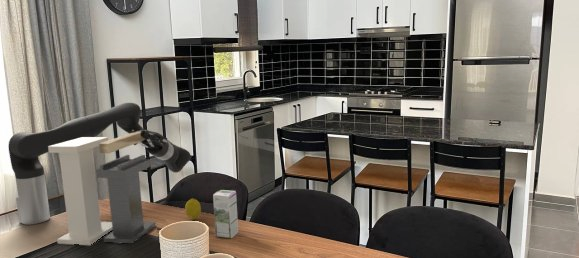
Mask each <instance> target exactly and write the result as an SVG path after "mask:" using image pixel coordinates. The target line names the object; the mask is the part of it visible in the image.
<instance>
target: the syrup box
mask: <svg viewBox="0 0 579 258" xmlns="http://www.w3.org/2000/svg"><path fill="white" fill-rule="evenodd" d="M236 191H237V190H225V189H220V190H218V191H216V192H215V193H213V195H212V201H213V214H214V228H215V237H216V238H223V239H233V238H234V237H235V236H236V235H238V234H239V221H238V207H237V203H238V202H237V201H238V200H237V192H236Z"/></svg>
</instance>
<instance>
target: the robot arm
mask: <svg viewBox="0 0 579 258" xmlns="http://www.w3.org/2000/svg"><path fill="white" fill-rule="evenodd" d="M141 111H142V110H141V107H140V105H139V104H137V103H134V102H124V103H121V104H118V105H115V106H112V107H111V108H108V109H105V110H103V111H100V112H96V113H93V114H89V115H85V116H81V117H77V118H74V119H71V120H69V121H67V122H64V123H63V124H61V125H59V126H58V127H55V128H53V129H49V130H45V131H41V132H32V133H31V132H26V131H25V132H24V131H23V132H22V131H21V132H17V133H15V134H14V135H12V136H11V138H10V139H9V141H8V154H9V159H10V164H11V170H12V172H14V173H13V174H14V177H15V183H16V189H17V190H16V192H17V196H16V198H15V201H16V207H17V216H18V222H19V223H21V224H22V225H28V226H29V225H38V224H40V223H44V222H47V221H48V220H50V219H51V214H50V205H49V200H48V197H49V196H48V191H47V184H46V176H45V175H46V174H45V168H44V166H43V165H42V164H41V162H40V159H39V157H40V156H42V155H44V154H48V153H49V150H48V146H51V145H55V144H59V143H63V142H66V141H70V140H74V139H77V138H81V137H98V136H99V135H100V134H101V133H103V132H104V131H105V130H106V129H107V128H109V127H110V126H111V125H113V124H115V123H116V124H117V126H118V127H119V128H120V129H121V130H123V131H125V132H126V133H127V134H130V133H134V132H137V131H140V130H141V136H142V137H143V138H145V139H146V140H144V141H141V142H138V143H136V144H133V146H137V145H138V144H139V145H141V146H142V147H144V148H145V150H146V152H147V154H148V153H149V154H150V155H151V156H153V157H154V158H156V159H159V160H161V161H163V162H164V164H165V166H166V167H167V168H168V170H169V171H170V172H172V173H176V174H177V173H179V172H181V170H183V169H184V168H185V166H186V165H187V164H188V163H189V162H190V160H191V159H192V155H191V153H190V151H188V150H187V149H185V148H183V147H180V146H178V145H176V144H174V143H173V142H172V141H170V140H169V139H168V138H167V137H166V136H164V135H163V134H161V133H159V132H157V131H151V130H148V131H149V133H147V132H146V131H144V130H146V129H144V128H143V127H142V126H141V125H140V117H141Z"/></svg>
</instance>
